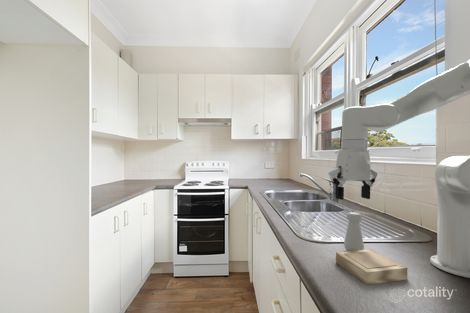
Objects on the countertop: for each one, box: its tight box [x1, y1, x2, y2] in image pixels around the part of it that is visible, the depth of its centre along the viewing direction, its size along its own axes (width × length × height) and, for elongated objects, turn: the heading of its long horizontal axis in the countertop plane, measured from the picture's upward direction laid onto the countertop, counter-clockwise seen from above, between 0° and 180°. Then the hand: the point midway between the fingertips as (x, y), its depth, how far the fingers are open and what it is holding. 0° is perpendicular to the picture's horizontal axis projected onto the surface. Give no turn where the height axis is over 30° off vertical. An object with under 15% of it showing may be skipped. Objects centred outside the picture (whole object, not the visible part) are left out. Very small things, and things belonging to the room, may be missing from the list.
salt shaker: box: [343, 211, 365, 252], centre depth 76 cm, size 6×6×13 cm
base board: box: [335, 248, 408, 286], centre depth 64 cm, size 12×12×3 cm
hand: (352, 198), depth 76 cm, fingers open, 9 cm apart
